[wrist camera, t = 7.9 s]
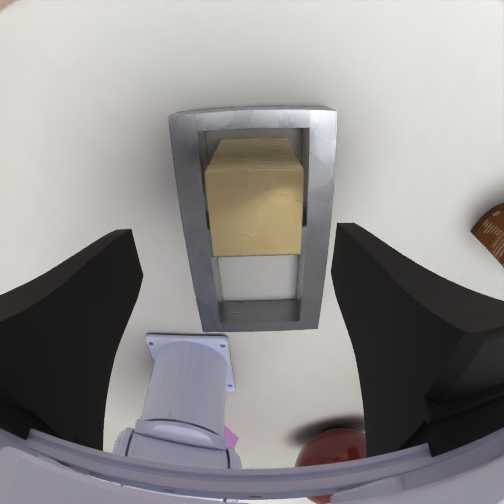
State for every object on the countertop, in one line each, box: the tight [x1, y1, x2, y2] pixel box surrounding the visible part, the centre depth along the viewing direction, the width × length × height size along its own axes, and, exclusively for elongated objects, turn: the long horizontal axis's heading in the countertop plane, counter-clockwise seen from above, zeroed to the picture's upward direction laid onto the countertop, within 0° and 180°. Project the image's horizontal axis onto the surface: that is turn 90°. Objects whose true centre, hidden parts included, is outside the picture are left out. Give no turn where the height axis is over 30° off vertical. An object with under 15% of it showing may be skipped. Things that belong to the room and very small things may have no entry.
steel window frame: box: [168, 106, 337, 332], centre depth 20 cm, size 16×9×2 cm, turn 2°
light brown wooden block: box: [205, 138, 304, 256], centre depth 16 cm, size 4×4×7 cm
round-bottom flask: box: [295, 428, 366, 504], centre depth 32 cm, size 13×13×20 cm
